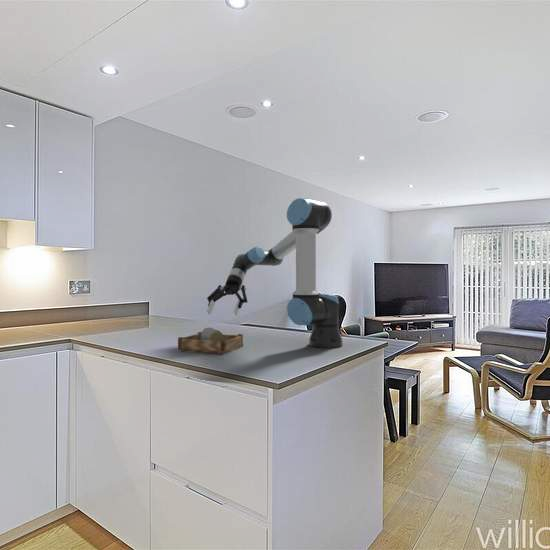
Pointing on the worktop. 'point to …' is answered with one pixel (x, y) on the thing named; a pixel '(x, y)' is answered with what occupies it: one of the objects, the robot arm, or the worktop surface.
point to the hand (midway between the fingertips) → (221, 312)
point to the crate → (210, 344)
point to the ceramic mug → (211, 335)
